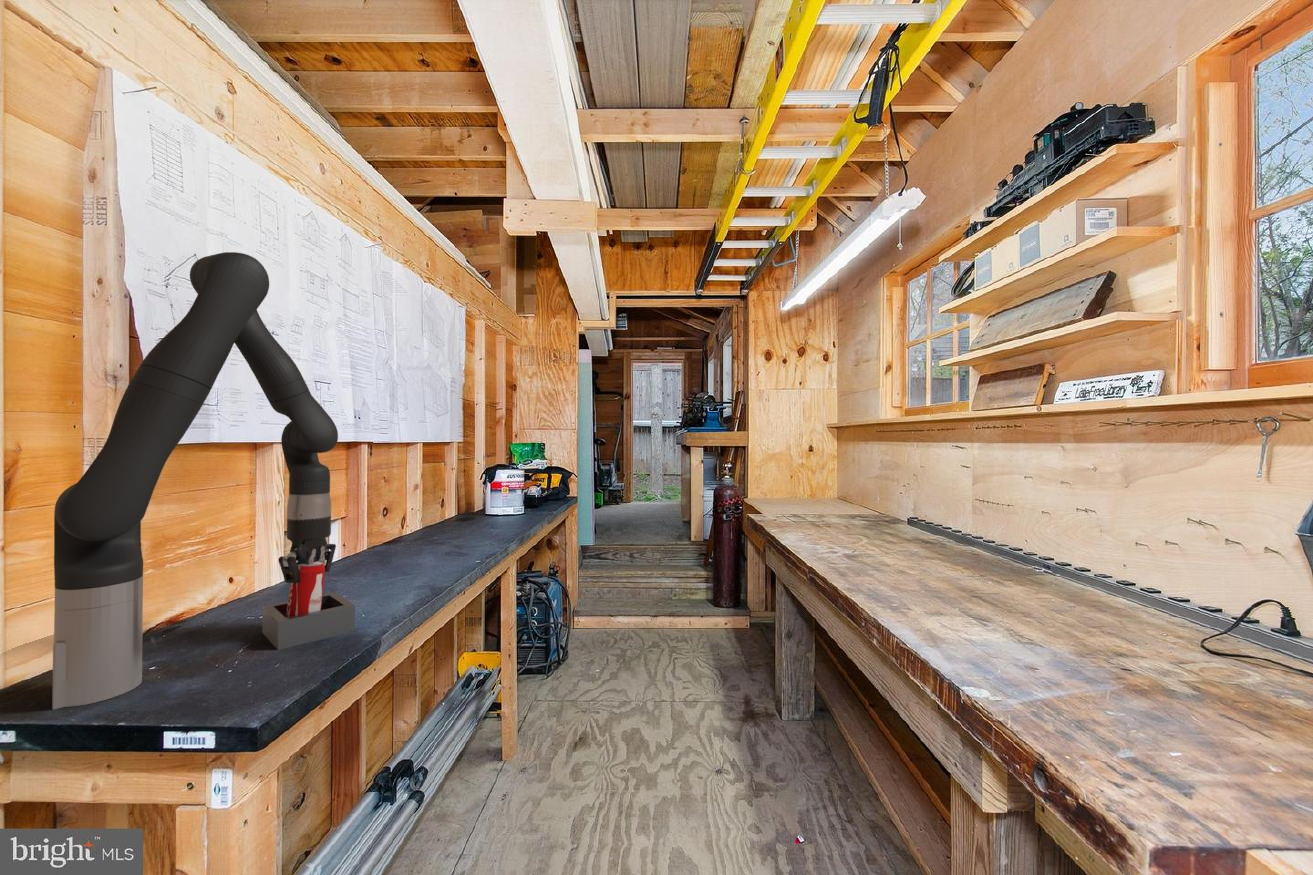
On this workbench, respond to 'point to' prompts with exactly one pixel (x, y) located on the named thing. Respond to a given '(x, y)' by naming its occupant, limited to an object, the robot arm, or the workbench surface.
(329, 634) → the socket block
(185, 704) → the workbench surface
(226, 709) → the workbench surface
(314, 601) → the beverage can
